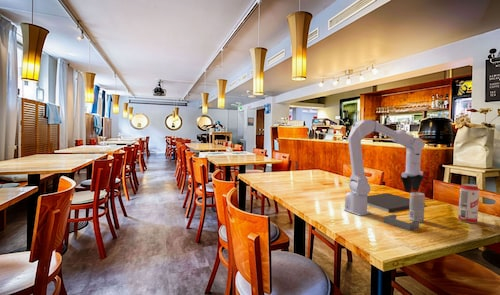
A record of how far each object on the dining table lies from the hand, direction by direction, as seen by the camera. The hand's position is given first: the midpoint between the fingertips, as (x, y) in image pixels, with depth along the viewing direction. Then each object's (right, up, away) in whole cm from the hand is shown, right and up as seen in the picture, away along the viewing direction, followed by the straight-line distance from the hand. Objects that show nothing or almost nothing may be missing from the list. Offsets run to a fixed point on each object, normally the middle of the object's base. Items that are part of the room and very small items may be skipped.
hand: (411, 191), depth 116 cm
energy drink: (-5, -11, -10) cm, 16 cm away
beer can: (+17, -11, -10) cm, 23 cm away
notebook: (-2, -10, +17) cm, 20 cm away
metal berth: (-15, -11, -15) cm, 24 cm away
